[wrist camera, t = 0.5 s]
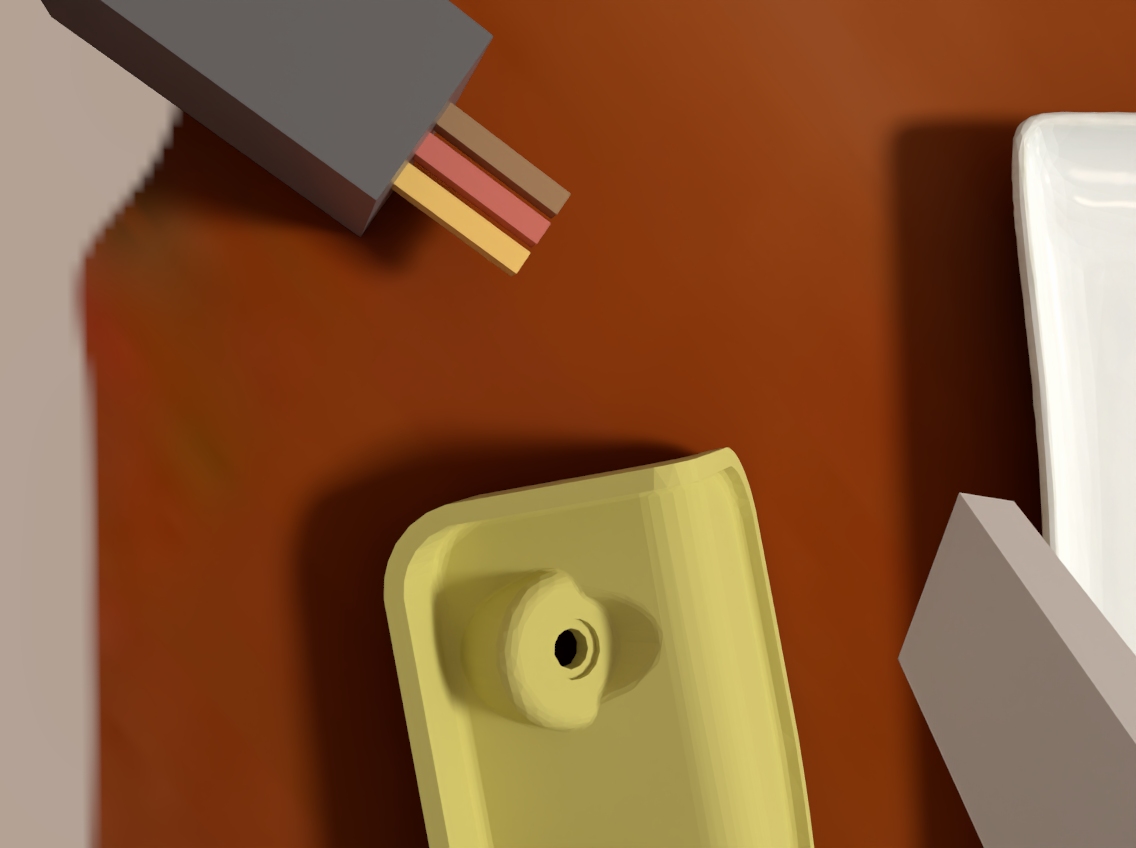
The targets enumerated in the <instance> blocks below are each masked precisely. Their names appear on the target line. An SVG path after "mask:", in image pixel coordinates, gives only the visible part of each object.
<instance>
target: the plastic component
mask: <svg viewBox="0 0 1136 848" xmlns="http://www.w3.org/2000/svg"><path fill="white" fill-rule="evenodd" d="M384 603H385V609H386V614H387V619H388V625H389V630H390V636H391V641H392V647H393V652H394V658H395V663H396V668H397V674H398V679H399V685H400V690H401V696H402V701H403V707H404V712H405V717H406V723H407V728H408V734H409V739H410V745H411V750H412V756H413V761H414V766H415V772H416V777H417V783H418V788H419V794H420V799H421V805H422V810H423V815H424V821H425V826H426V832H427V837H428V843H429V848H814V843H813V835H812V827H811V819H810V811H809V804H808V797H807V790H806V783H805V776H804V770H803V763H802V757H801V751H800V745H799V738H798V732H797V727H796V722H795V716H794V711H793V706H792V700H791V695H790V690H789V684H788V679H787V674H786V668H785V663H784V658H783V652H782V647H781V642H780V637H779V631H778V626H777V621H776V615H775V610H774V605H773V599H772V594H771V589H770V583H769V578H768V573H767V567H766V562H765V557H764V551H763V546H762V541H761V536H760V530H759V525H758V520H757V514H756V509H755V505H754V501H753V497H752V494H751V490H750V486H749V484H748V481H747V478H746V475H745V472H744V470H743V467H742V465H741V463H740V461H739V459H738V457H737V456H736V454H735V453H734V451H733V450H731V449H730V448H728V447H726V448H721V449H715V450H710V451H705V452H702V453H699V454H696V455H691V456H687V457H683V458H678V459H674V460H669V461H663V462H658V463H653V464H648V465H643V466H638V467H632V468H626V469H621V470H615V471H609V472H604V473H598V474H593V475H587V476H581V477H576V478H570V479H565V480H559V481H553V482H548V483H542V484H537V485H531V486H525V487H520V488H514V489H509V490H503V491H497V492H492V493H486V494H480V495H476V496H473V497H469V498H466V499H463V500H460V501H456V502H453V503H450V504H446V505H444V506H441V507H439V508H437V509H434V510H432V511H430V512H427V513H426V514H424V515H423V516H422V517H421V518H419V519H418V520H417V521H415V522H414V523H413V524H412V525H410V526H409V527H408V528H407V530H406V531H405V532H404V534H403V535H402V536H401V538H400V539H399V540H398V542H397V543H396V544H395V547H394V549H393V551H392V554H391V556H390V558H389V560H388V564H387V568H386V573H385V577H384ZM567 629H568V630H569V631H571V632H572V633H573V635H574V637H575V639H576V641H577V651H576V655H575V657H574V658H573V660H572V662H571V664H568V665H566V666H564V667H563V666H561V665H560V664H559V662H558V660H557V658H556V657H555V655H554V654H555V642H556V640H557V638H558V636H559V635H560V634H561V633H562V632H563V631H564V630H567Z"/></svg>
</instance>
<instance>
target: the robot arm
mask: <svg viewBox="0 0 1136 848" xmlns="http://www.w3.org/2000/svg"><path fill="white" fill-rule="evenodd" d="M898 660H899V662H900V664H901V667H902V669H903V671H904V673H905V675H906V678H907V680H908V682H909V684H910V686H911V689H912V691H913V693H914V695H915V697H916V700H917V702H918V704H919V706H920V708H921V711H922V713H923V715H924V717H925V719H926V722H927V724H928V726H929V728H930V730H931V733H932V735H933V737H934V739H935V741H936V744H937V746H938V748H939V750H940V752H941V755H942V757H943V759H944V761H945V763H946V766H947V768H948V770H949V772H950V774H951V777H952V779H953V781H954V783H955V785H956V788H957V790H958V792H959V794H960V796H961V799H962V801H963V803H964V805H965V807H966V810H967V812H968V814H969V816H970V818H971V821H972V823H973V825H974V827H975V829H976V832H977V834H978V836H979V838H980V840H981V843H982V845H983V847H984V848H1136V656H1135V654H1134V653H1133V652H1132V651H1131V649H1130V648H1129V647H1128V645H1127V644H1126V643H1125V642H1124V640H1123V639H1122V638H1121V637H1120V635H1119V634H1118V633H1117V632H1116V630H1115V629H1114V628H1113V626H1112V625H1111V624H1110V623H1109V621H1108V620H1107V619H1106V618H1105V616H1104V615H1103V614H1102V612H1101V611H1100V610H1099V609H1098V607H1097V606H1096V605H1095V604H1094V602H1093V601H1092V600H1091V599H1090V597H1089V596H1088V595H1087V593H1086V592H1085V591H1084V590H1083V588H1082V587H1081V586H1080V585H1079V583H1078V582H1077V581H1076V579H1075V578H1074V577H1073V576H1072V574H1071V573H1070V572H1069V571H1068V569H1067V568H1066V567H1065V565H1064V564H1063V563H1062V562H1061V560H1060V559H1059V558H1058V557H1057V555H1056V554H1055V553H1054V552H1053V550H1052V549H1051V548H1050V546H1049V545H1048V544H1047V543H1046V541H1045V540H1044V539H1043V538H1042V536H1041V535H1040V534H1039V532H1038V531H1037V530H1036V529H1035V527H1034V526H1033V525H1032V524H1031V522H1030V521H1029V520H1028V519H1027V517H1026V516H1025V515H1024V513H1023V512H1022V511H1021V510H1020V508H1019V507H1018V506H1017V505H1016V503H1015V502H1014V501H1009V500H1003V499H997V498H991V497H984V496H978V495H972V494H966V493H960V492H959V495H958V497H957V500H956V503H955V506H954V508H953V511H952V514H951V516H950V519H949V522H948V524H947V527H946V530H945V533H944V535H943V538H942V541H941V543H940V546H939V549H938V552H937V554H936V557H935V560H934V562H933V565H932V568H931V571H930V573H929V576H928V579H927V581H926V584H925V587H924V590H923V592H922V595H921V598H920V600H919V603H918V606H917V608H916V611H915V614H914V617H913V619H912V622H911V625H910V627H909V630H908V633H907V636H906V638H905V641H904V644H903V646H902V649H901V652H900V655H899V657H898Z"/></svg>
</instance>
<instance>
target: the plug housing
mask: <svg viewBox="0 0 1136 848" xmlns="http://www.w3.org/2000/svg"><path fill="white" fill-rule="evenodd" d="M41 1H42V3H43V4H44V6H45V7H46V9H47V11H48V12H49V14H50V15H51V17H53V18H54V19H56V20H57V21H58V22H59V23H61V24H62V25H64V26H65V27H67V28H68V29H69V30H71V31H72V32H73V33H75V34H77V35H78V36H79V37H80V38H82V39H83V40H85V41H86V42H87V43H89V44H90V45H92V46H93V47H95V48H96V49H97V50H99V51H100V52H101V53H103V54H104V55H106V56H107V57H109V58H110V59H111V60H113V61H114V62H115V63H117V64H119V65H120V66H121V67H123V68H124V69H125V70H127V71H128V72H130V73H131V74H132V75H134V76H135V77H137V78H138V79H139V80H141V81H142V82H144V83H145V84H146V85H148V86H149V87H150V88H152V89H153V90H155V91H156V92H157V93H159V94H160V95H162V96H163V97H164V98H166V99H167V100H169V101H170V102H171V103H173V104H174V105H176V106H177V107H178V108H180V109H181V110H183V111H184V112H185V113H187V114H188V115H190V116H191V117H192V118H194V119H195V120H197V121H198V122H199V123H201V124H202V125H204V126H205V127H206V128H208V129H209V130H211V131H212V132H213V133H215V134H216V135H218V136H219V137H220V138H222V139H223V140H225V141H226V142H227V143H229V144H230V145H232V146H233V147H234V148H236V149H237V150H239V151H240V152H241V153H243V154H244V155H246V156H247V157H248V158H250V159H251V160H253V161H254V162H255V163H257V164H258V165H260V166H261V167H262V168H264V169H265V170H267V171H268V172H269V173H271V174H272V175H274V176H275V177H276V178H278V179H279V180H281V181H282V182H283V183H285V184H286V185H288V186H289V187H290V188H292V189H293V190H295V191H296V192H297V193H299V194H300V195H302V196H303V197H304V198H306V199H307V200H309V201H310V202H311V203H313V204H314V205H316V206H317V207H318V208H320V209H321V210H323V211H324V212H325V213H327V214H328V215H330V216H331V217H332V218H334V219H335V220H337V221H338V222H339V223H341V224H342V225H344V226H345V227H346V228H348V229H349V230H351V231H352V232H353V233H355V234H356V235H358V236H359V237H361V236H362V235H363V233H364V232H365V230H366V229H367V228H368V226H369V225H370V223H371V222H372V220H373V219H374V218H375V216H376V215H377V213H378V212H379V211H380V209H381V208H382V206H383V205H384V204H385V202H386V201H387V199H388V198H389V197H390V195H391V194H392V192H393V191H395V192H396V193H398V194H399V195H400V196H402V197H403V198H405V199H406V200H407V201H409V202H410V203H411V204H413V205H414V206H416V207H417V208H418V209H420V210H421V211H422V212H424V213H425V214H426V215H428V216H429V217H431V218H432V219H433V220H435V221H436V222H437V223H439V224H440V225H441V226H443V227H444V228H446V229H447V230H448V231H450V232H451V233H452V234H454V235H455V236H457V237H458V238H459V239H461V240H462V241H463V242H465V243H466V244H467V245H469V246H470V247H472V248H473V249H474V250H476V251H477V252H478V253H480V254H481V255H483V256H484V257H485V258H487V259H488V260H489V261H491V262H492V263H493V264H495V265H496V266H498V267H499V268H500V269H502V270H503V271H504V272H506V273H507V274H508V275H510V276H513V275H515V274H516V273H517V272H518V271H519V269H520V268H521V266H522V265H523V263H524V262H525V260H526V259H527V257H528V256H529V255H530V252H529V251H528V250H526V249H525V248H523V247H522V246H521V245H519V244H518V243H517V242H515V241H514V240H513V239H511V238H510V237H509V236H507V235H506V234H505V233H503V232H502V231H501V230H499V229H498V228H496V227H495V226H494V225H492V224H491V223H490V222H488V221H487V220H486V219H484V218H483V217H482V216H480V215H479V214H478V213H476V212H475V211H474V210H472V209H471V208H470V207H468V206H467V205H465V204H464V203H463V202H461V201H460V200H459V199H457V198H456V197H455V196H453V195H452V194H451V193H449V192H448V191H447V190H445V189H444V188H443V187H441V186H440V185H438V184H437V183H436V182H434V181H433V180H432V179H430V178H429V177H428V176H426V175H425V174H424V173H422V172H421V171H420V170H418V169H417V168H416V167H414V166H413V165H412V164H413V163H414V161H415V162H417V163H418V164H419V165H421V166H422V167H423V168H425V169H426V170H428V171H429V172H430V173H432V174H433V175H434V176H436V177H437V178H438V179H440V180H441V181H442V182H444V183H445V184H446V185H448V186H449V187H450V188H452V189H453V190H454V191H456V192H457V193H458V194H460V195H461V196H463V197H464V198H465V199H467V200H468V201H469V202H471V203H472V204H473V205H475V206H476V207H477V208H479V209H480V210H481V211H483V212H484V213H485V214H487V215H488V216H489V217H491V218H492V219H494V220H495V221H496V222H498V223H499V224H500V225H502V226H503V227H504V228H506V229H507V230H508V231H510V232H511V233H512V234H514V235H515V236H516V237H518V238H519V239H520V240H522V241H523V242H524V243H526V244H527V245H529V246H530V247H533V246H534V245H536V244H537V243H538V241H539V240H540V238H541V237H542V236H543V234H544V233H545V231H546V230H547V228H548V227H549V225H550V224H551V223H550V222H549V221H547V220H546V219H545V218H543V217H542V216H541V215H539V214H538V213H537V212H535V211H534V210H533V209H531V208H530V207H529V206H527V205H526V204H525V203H523V202H522V201H521V200H519V199H518V198H517V197H515V196H514V195H513V194H511V193H510V192H509V191H507V190H506V189H505V188H503V187H502V186H501V185H499V184H498V183H497V182H495V181H494V180H493V179H491V178H490V177H489V176H487V175H486V174H485V173H483V172H482V171H481V170H479V169H478V168H477V167H475V166H474V165H473V164H471V163H470V162H469V161H467V160H466V159H465V158H463V157H462V156H461V155H459V154H458V153H457V152H455V151H454V150H453V149H452V148H450V147H449V146H448V145H446V144H445V143H444V142H442V141H441V140H440V139H438V138H437V137H436V136H434V133H435V132H437V133H438V134H439V135H441V136H442V137H443V138H445V139H446V140H447V141H449V142H450V143H451V144H453V145H454V146H455V147H457V148H458V149H459V150H460V151H462V152H463V153H464V154H466V155H467V156H468V157H470V158H471V159H472V160H474V161H475V162H476V163H478V164H479V165H480V166H482V167H483V168H484V169H486V170H487V171H488V172H490V173H491V174H492V175H494V176H495V177H496V178H498V179H499V180H500V181H502V182H503V183H504V184H506V185H507V186H508V187H510V188H511V189H512V190H514V191H515V192H516V193H518V194H519V195H520V196H522V197H523V198H524V199H526V200H527V201H528V202H529V203H531V204H532V205H533V206H535V207H536V208H537V209H539V210H540V211H541V212H543V213H544V214H545V215H547V216H548V217H549V218H553V217H554V216H555V215H557V214H558V212H559V211H560V209H561V208H562V206H563V205H564V203H565V202H566V200H567V199H568V198H569V196H570V195H571V194H570V193H569V192H568V191H566V190H565V189H564V188H562V187H561V186H560V185H559V184H557V183H556V182H555V181H553V180H552V179H551V178H549V177H548V176H547V175H545V174H544V173H543V172H542V171H540V170H539V169H538V168H536V167H535V166H534V165H532V164H531V163H530V162H528V161H527V160H526V159H525V158H523V157H522V156H521V155H519V154H518V153H517V152H515V151H514V150H513V149H511V148H510V147H509V146H507V145H506V144H505V143H504V142H502V141H501V140H500V139H498V138H497V137H496V136H494V135H493V134H492V133H490V132H489V131H488V130H487V129H485V128H484V127H483V126H481V125H480V124H479V123H477V122H476V121H475V120H473V119H472V118H471V117H470V116H468V115H467V114H466V113H464V112H463V111H462V110H460V109H459V108H458V107H456V106H455V104H456V102H457V101H458V99H459V97H460V95H461V93H462V92H463V90H464V88H465V86H466V84H467V83H468V81H469V79H470V77H471V75H472V74H473V72H474V70H475V68H476V67H477V65H478V63H479V61H480V59H481V58H482V56H483V54H484V52H485V50H486V49H487V47H488V45H489V43H490V41H491V40H492V38H493V35H491V34H490V33H489V32H488V31H486V30H485V29H484V28H483V27H481V26H480V25H479V24H478V23H476V22H475V21H474V20H472V19H471V18H470V17H469V16H467V15H466V14H465V13H464V12H462V11H461V10H460V9H458V8H457V7H456V6H455V5H453V4H452V3H451V2H450V1H448V0H41Z"/></svg>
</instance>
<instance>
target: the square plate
mask: <svg viewBox="0 0 1136 848" xmlns="http://www.w3.org/2000/svg"><path fill="white" fill-rule="evenodd" d="M1012 185H1013V204H1014V212H1013V213H1014V222H1015V231H1016V238H1017V252H1018V262H1019V271H1020V279H1021V287H1022V295H1023V303H1024V312H1025V325H1026V332H1027V342H1028V351H1029V359H1030V370H1031V379H1032V390H1033V406H1034V413H1035V420H1036V438H1037V446H1038V459H1039V476H1040V494H1041V514H1042V538H1043V539H1044V540H1045V541H1046V543H1047V544H1048V545H1049V546H1050V548H1051V549H1052V550H1053V552H1054V553H1055V554H1056V555H1057V557H1058V558H1059V559H1060V560H1061V562H1062V563H1063V564H1064V565H1065V567H1066V568H1067V569H1068V571H1069V572H1070V573H1071V574H1072V576H1073V577H1074V578H1075V579H1076V581H1077V582H1078V583H1079V585H1080V586H1081V587H1082V588H1083V590H1084V591H1085V592H1086V593H1087V595H1088V596H1089V597H1090V599H1091V600H1092V601H1093V602H1094V604H1095V605H1096V606H1097V607H1098V609H1099V610H1100V611H1101V612H1102V614H1103V615H1104V616H1105V618H1106V619H1107V620H1108V621H1109V623H1110V624H1111V625H1112V626H1113V628H1114V629H1115V630H1116V632H1117V633H1118V634H1119V635H1120V637H1121V638H1122V639H1123V640H1124V642H1125V643H1126V644H1127V645H1128V647H1129V648H1130V649H1131V651H1132V652H1133V653H1134V654H1135V656H1136V113H1124V112H1102V113H1098V112H1055V113H1043V114H1038V115H1034V116H1031V117H1029V118H1028V119H1026V120H1025V121H1023V122H1022V123H1020V125H1019V126H1018V127H1017V129H1016V132H1015V135H1014V138H1013V152H1012Z"/></svg>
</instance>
